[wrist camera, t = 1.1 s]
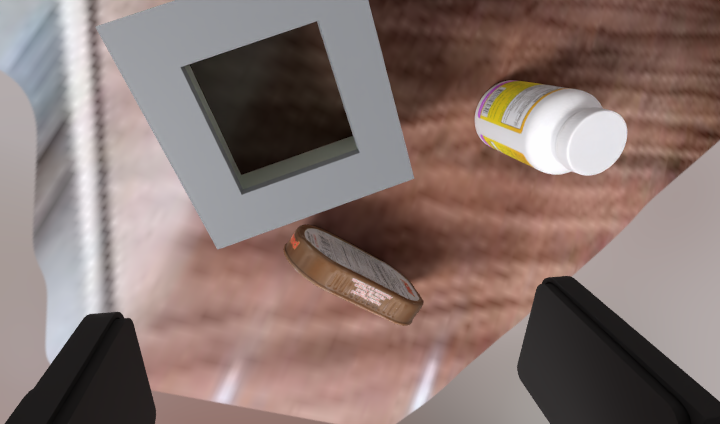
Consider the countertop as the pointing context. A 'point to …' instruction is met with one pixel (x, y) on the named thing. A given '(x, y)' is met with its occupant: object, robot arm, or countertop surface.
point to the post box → (203, 137)
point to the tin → (352, 274)
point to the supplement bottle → (550, 127)
